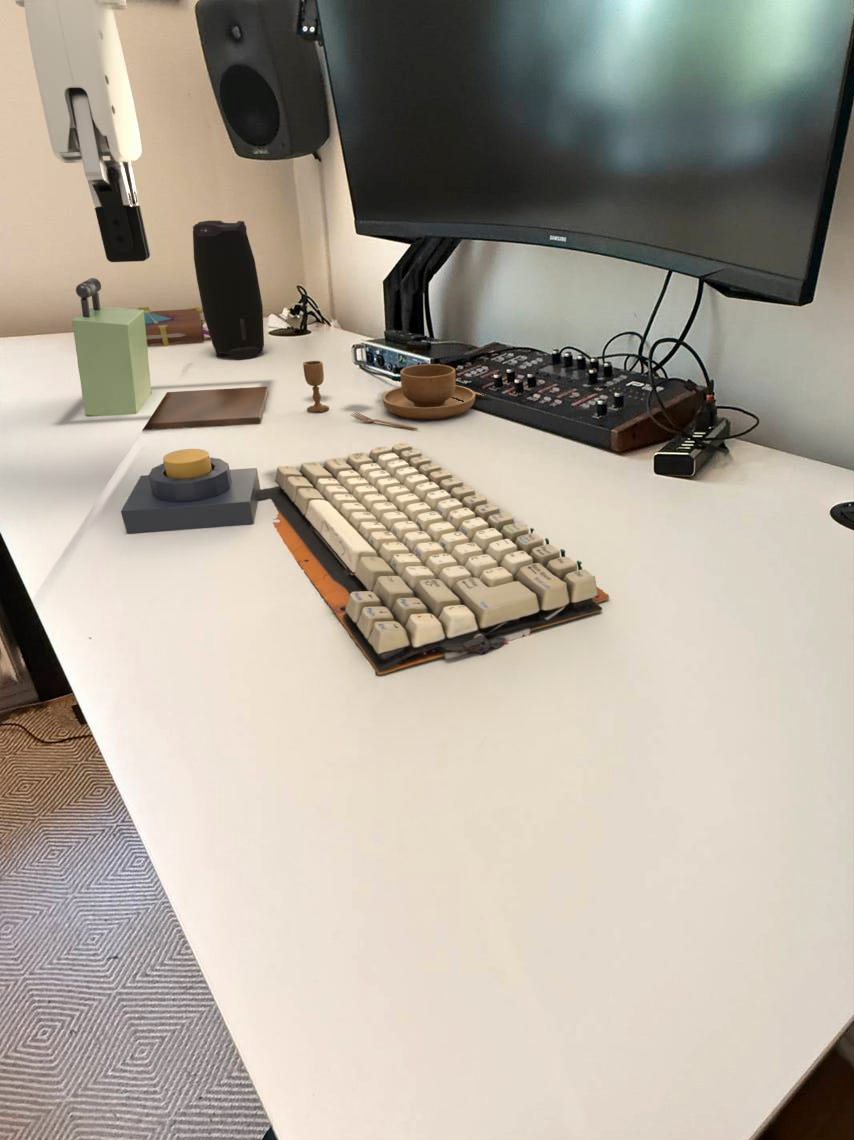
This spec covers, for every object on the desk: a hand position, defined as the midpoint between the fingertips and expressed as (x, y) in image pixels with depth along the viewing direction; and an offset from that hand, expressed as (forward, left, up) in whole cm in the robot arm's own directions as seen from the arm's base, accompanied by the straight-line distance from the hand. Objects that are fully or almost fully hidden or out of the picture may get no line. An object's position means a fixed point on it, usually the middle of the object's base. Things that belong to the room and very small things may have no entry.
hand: (129, 259), depth 67 cm
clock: (-12, +31, -20) cm, 39 cm away
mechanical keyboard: (+21, -15, -22) cm, 34 cm away
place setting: (+24, +28, -21) cm, 42 cm away
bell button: (+2, -4, -17) cm, 18 cm away
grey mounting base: (+2, -4, -21) cm, 22 cm away
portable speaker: (0, +64, -21) cm, 67 cm away
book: (-16, +82, -21) cm, 86 cm away
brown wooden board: (-6, +31, -21) cm, 38 cm away
